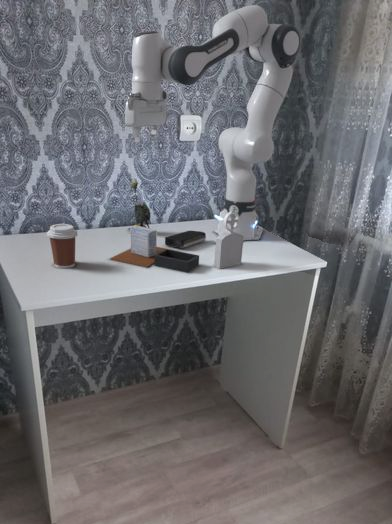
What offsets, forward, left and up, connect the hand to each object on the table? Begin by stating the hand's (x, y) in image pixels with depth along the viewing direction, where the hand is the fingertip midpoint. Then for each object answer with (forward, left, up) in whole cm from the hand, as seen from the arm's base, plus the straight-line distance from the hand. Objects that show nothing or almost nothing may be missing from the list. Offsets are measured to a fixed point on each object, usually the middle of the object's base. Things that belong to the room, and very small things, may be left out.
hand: (145, 141), depth 158 cm
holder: (+11, +18, -35) cm, 41 cm away
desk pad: (+8, +4, -35) cm, 36 cm away
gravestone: (+1, +32, -35) cm, 48 cm away
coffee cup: (+30, -12, -35) cm, 48 cm away
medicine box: (+8, +4, -35) cm, 36 cm away
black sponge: (-12, +10, -35) cm, 39 cm away
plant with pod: (-16, -11, -35) cm, 40 cm away
